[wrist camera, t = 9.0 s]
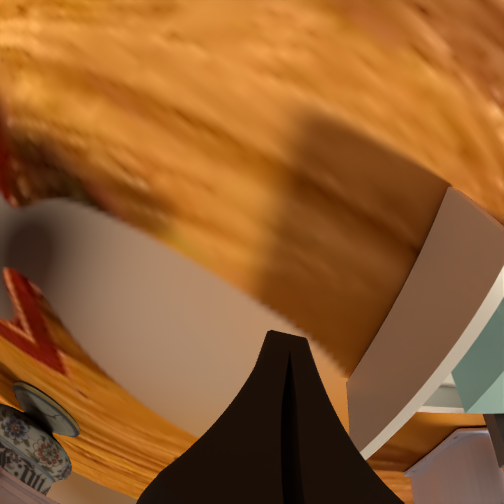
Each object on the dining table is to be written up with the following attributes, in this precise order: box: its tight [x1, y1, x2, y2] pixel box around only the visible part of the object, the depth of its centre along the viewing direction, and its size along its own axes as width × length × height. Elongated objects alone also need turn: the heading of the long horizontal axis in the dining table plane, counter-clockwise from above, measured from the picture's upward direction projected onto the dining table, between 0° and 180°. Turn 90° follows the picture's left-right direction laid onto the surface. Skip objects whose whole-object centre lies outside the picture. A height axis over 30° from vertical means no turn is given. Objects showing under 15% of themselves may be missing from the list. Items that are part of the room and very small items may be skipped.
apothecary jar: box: [0, 382, 80, 496], centre depth 21 cm, size 12×12×18 cm
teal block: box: [451, 297, 504, 414], centre depth 13 cm, size 4×4×4 cm
